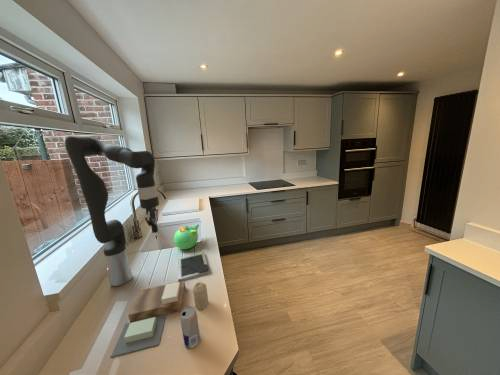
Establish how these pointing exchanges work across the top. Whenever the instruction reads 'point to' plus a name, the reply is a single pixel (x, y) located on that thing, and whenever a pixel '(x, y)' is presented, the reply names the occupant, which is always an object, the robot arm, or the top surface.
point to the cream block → (171, 293)
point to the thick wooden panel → (155, 303)
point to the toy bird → (186, 237)
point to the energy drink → (190, 327)
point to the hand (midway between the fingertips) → (155, 232)
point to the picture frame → (192, 267)
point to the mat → (142, 343)
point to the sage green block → (140, 330)
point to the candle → (200, 296)
